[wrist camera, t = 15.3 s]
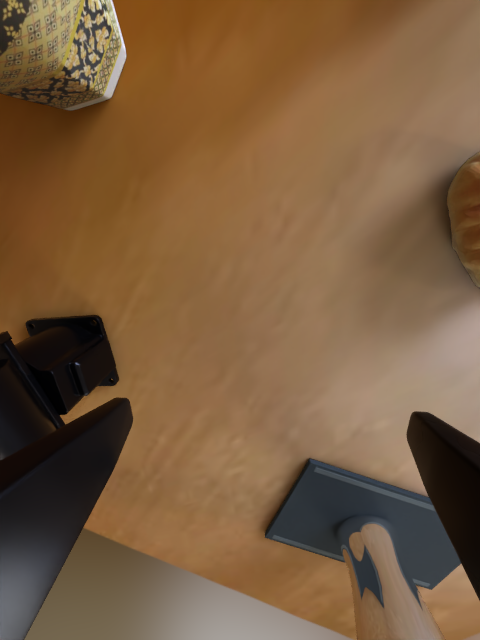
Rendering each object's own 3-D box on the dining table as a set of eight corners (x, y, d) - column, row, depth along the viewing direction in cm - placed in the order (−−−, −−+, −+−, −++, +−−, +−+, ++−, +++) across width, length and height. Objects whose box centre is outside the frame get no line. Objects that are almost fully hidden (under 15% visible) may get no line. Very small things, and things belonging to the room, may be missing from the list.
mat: (264, 532, 30) (264, 538, 30) (309, 458, 26) (310, 462, 25) (429, 584, 31) (431, 590, 31) (499, 520, 27) (503, 526, 26)
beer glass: (373, 500, 27) (494, 816, 13) (415, 537, 28) (567, 860, 14) (317, 529, 29) (367, 827, 15) (358, 562, 30) (441, 864, 16)
